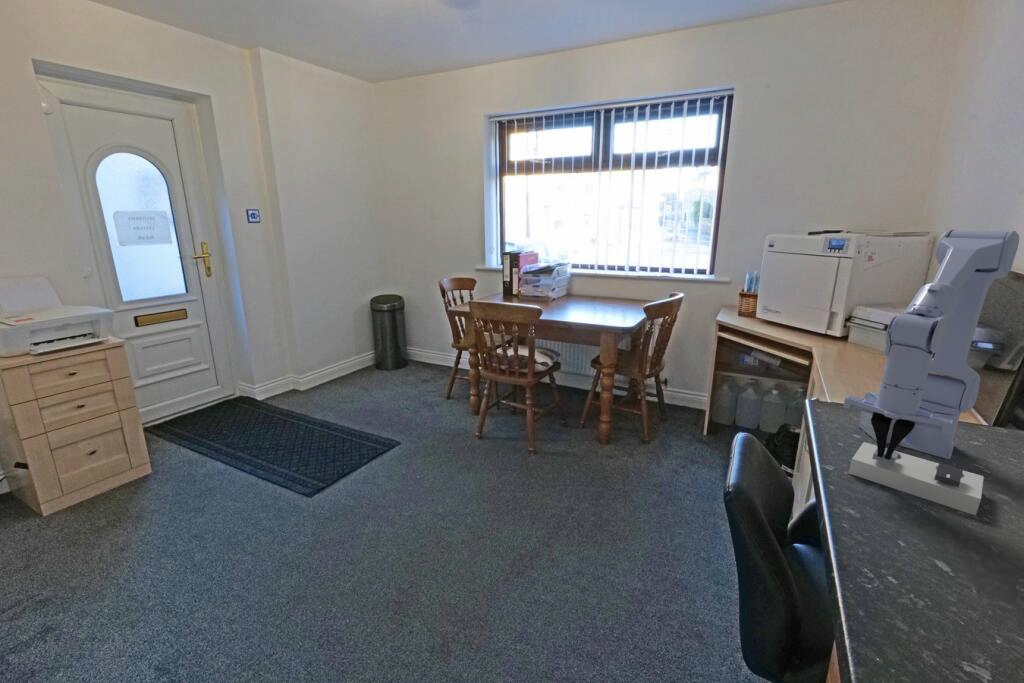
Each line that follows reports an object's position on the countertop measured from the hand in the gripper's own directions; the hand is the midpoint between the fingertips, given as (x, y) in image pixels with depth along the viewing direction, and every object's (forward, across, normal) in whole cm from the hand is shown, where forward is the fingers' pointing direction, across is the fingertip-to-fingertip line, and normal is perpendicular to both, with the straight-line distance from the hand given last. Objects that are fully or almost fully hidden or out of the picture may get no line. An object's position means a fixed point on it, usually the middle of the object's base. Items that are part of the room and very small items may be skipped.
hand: (884, 456), depth 83 cm
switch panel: (+5, +4, +4) cm, 7 cm away
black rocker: (0, +8, +2) cm, 9 cm away
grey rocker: (0, 0, +2) cm, 2 cm away
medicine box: (+5, -4, +23) cm, 24 cm away
